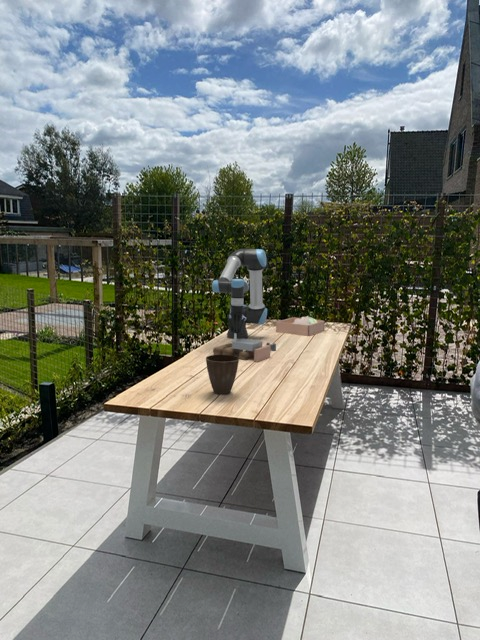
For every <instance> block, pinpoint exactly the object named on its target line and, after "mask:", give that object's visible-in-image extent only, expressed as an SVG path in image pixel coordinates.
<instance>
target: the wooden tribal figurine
mask: <svg viewBox="0 0 480 640" xmlns="http://www.w3.org/2000/svg"><path fill="white" fill-rule="evenodd" d="M296 318H297V319H295V322H293V324H302V325H310V324H314V323H317V321H316V320H317V319H315V318H313V317H311V316H309V315H307V316H302V317H296ZM299 318H301V319H299ZM309 323H310V324H309Z"/></svg>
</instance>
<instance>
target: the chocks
mask: <svg viewBox="0 0 480 640" xmlns="http://www.w3.org/2000/svg"><path fill="white" fill-rule="evenodd" d="M212 355H214V353H213V354H212ZM221 355H223V354H221ZM237 355H239V353H238V354H235V355H233V356H237ZM250 359H254V356H253V357H250V358H247V359H245V360H244V361H247V360H250ZM239 360H241V359H240V358H239Z"/></svg>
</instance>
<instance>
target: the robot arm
mask: <svg viewBox="0 0 480 640" xmlns="http://www.w3.org/2000/svg"><path fill="white" fill-rule="evenodd" d="M266 266H267V255H266V251H265V250H264V249H261V248H260V249H259V248H240V249H237V250H235V251H233V252H232V253H231V254H230V255H228V258H227V260H226V264H225V267H224V269H223V270H222V272H221V274H220V276H219V278H218V279H215V280H212V283H211V289H212V292H213V293H217V294H221V293H222V294H223V293H224V294H230V309H229V315H227V316H226V317H227V320H228V325H229V327H228V329H227V333H226V337H227V338H228V339H232V340H233V341H236V340H239V339H249V333H248V330H247V324H252V325H264V324H265V323H266V320H267V316H268V308H266V305H265V304H264V303H263V302H264V301H263V299H264V298H263V270H265V268H266ZM240 267H246V269H247V271H248V272H249V283H248V282H247V281H245V280H244V278H243V279H242V278H234V276H235V274H236V272H237V270H238V269H239V268H240ZM248 291H249V295H250V296H249V297H250V300H249V301H250V303H249V304H248V306H247V304H244V294H246V293H247V292H248Z"/></svg>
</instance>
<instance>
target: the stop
mask: <svg viewBox="0 0 480 640" xmlns="http://www.w3.org/2000/svg"><path fill="white" fill-rule="evenodd" d="M270 350H271V346H270V345H267V346H266V345H264V346H262V347H261V348H258V349H255V350H254V357H253V362H255V363H258V362H261V361H263V360H266V359H269V358H270V357H271V351H270Z"/></svg>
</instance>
